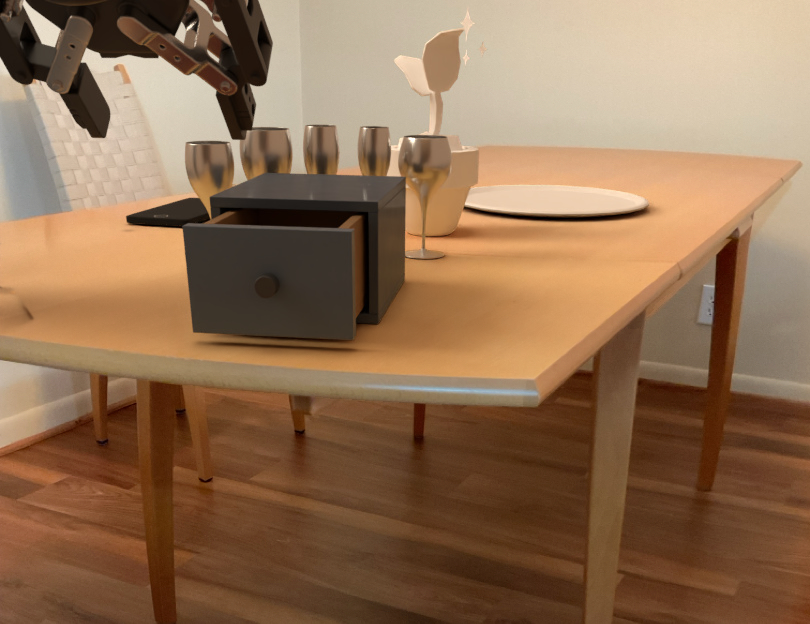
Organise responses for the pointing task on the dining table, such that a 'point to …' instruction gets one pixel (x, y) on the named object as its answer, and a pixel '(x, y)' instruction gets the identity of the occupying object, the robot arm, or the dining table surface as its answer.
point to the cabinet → (339, 194)
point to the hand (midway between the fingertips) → (171, 127)
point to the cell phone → (172, 214)
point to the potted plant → (431, 80)
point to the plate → (553, 201)
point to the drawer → (278, 273)
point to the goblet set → (322, 161)
